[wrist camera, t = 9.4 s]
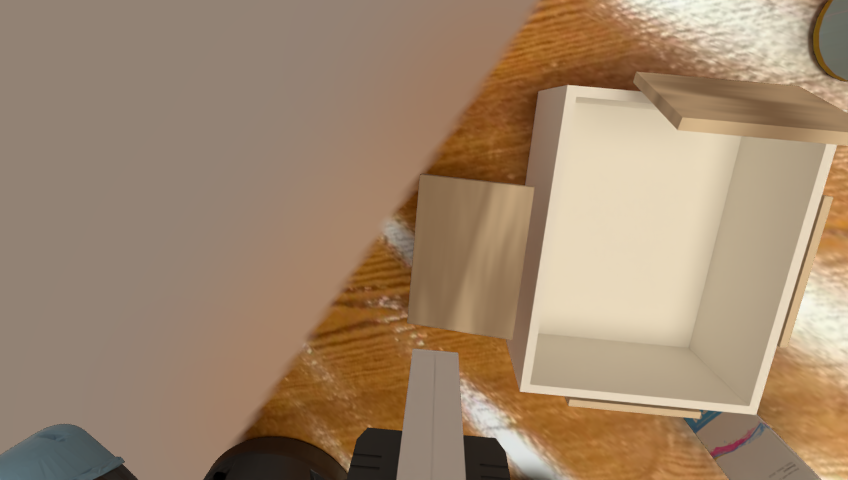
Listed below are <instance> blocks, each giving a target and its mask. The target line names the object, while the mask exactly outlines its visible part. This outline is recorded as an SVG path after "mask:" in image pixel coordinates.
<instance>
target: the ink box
mask: <svg viewBox="0 0 848 480" xmlns="http://www.w3.org/2000/svg"><path fill="white" fill-rule="evenodd" d="M699 410H700V411H701V416H700V419H696V418H686V417H683V418H684V419H685V421H686V422H687V423H688V425H689V426H690V427H691V429H692V430H693V431H694V433H695V434H696V435H697V437H698V438H699V439H700V441H701V442H702V443H703V445H704V446H705V448H706V449H707V450H708V452H709V453H710V454H711V456H712V457H713V458H714V460H715V461H716V462H717V464H718V465H719V467H720V468H721V469H722V471H723V472H724V473H725V475H726V476H727V477H728V479H729V480H821V479H820V478H819V476H818V475H817V474H816V473H815V472H814V471H813V470H812V469H811V468H810V467H809V466H808V465H807V464H806V463H805V462H804V461H803V460H802V459H801V458H800V457H799V456H798V455H797V454H796V453H795V452H794V451H793V450H792V449H791V448H790V447H789V446H788V445H787V444H786V443H785V442H784V441H783V440H782V439H781V438H780V437H779V436H778V435H777V434H776V433H775V432H774V431H773V430H772V429H771V428H770V427H769V426H768V425H767V424H766V423H765V422H764V421H763V420H762V419H761V418H760V417H759V416H758V415H757V414H756V415H752V414H742V413H732V412H722V411H712V410H701V409H699Z"/></svg>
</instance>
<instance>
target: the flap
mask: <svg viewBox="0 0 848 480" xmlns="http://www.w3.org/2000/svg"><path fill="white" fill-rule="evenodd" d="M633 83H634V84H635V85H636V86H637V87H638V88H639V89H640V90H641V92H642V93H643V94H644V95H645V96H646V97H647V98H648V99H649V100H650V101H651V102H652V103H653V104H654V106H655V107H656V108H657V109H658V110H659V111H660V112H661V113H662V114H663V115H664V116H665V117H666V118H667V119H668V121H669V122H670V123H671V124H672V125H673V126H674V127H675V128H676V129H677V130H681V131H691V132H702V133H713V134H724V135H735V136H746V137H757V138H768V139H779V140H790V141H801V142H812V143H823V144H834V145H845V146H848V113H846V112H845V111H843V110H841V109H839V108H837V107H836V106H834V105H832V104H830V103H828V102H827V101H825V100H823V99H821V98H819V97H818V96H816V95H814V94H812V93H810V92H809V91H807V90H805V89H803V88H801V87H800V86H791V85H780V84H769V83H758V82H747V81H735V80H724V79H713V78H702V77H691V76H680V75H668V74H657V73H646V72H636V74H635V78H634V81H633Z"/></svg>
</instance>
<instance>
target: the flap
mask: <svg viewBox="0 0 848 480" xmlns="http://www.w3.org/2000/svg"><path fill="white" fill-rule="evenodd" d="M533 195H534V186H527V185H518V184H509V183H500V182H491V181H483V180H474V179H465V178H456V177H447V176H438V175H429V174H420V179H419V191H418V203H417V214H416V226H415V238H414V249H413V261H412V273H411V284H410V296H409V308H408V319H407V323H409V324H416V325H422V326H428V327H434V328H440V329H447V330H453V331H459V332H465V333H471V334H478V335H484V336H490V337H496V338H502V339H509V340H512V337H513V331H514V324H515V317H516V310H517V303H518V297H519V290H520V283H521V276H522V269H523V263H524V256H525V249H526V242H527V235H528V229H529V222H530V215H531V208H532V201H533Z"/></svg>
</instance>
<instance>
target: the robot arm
mask: <svg viewBox="0 0 848 480" xmlns="http://www.w3.org/2000/svg"><path fill="white" fill-rule="evenodd" d="M124 462H125V461H124V460H123V459H122V458H121V457H115V456H114V455H113V454H111V453H110V452H109V451H108V450H107V449H106V448H104V447H103V446H102V445H101V444H100V443H99V442H98V441H96V440H95V439H94V438H93V437H92V436H91V435H89V434H88V433H87V432H86V431H85V430H83V429H82V428H80V427H77V426H75V425H70V424H59V425H54V426H50V427H47V428H45V429H43V430H41V431H39V432H37V433H35V434H33V435H32V436H30V437H29V438H27V439H25V440H24V441H22V442H21V443H19V444H17V445H15V446H14V447H12V448H11V449H9V450H7V451H6V452H4V453H3V454H1V455H0V480H138V479H137V478H136V477H135V476H134V475H133V474H132V473H131V472H130V471H129V470H128V469H127V468H126V467H125V466H124V465H123V464H122V463H124ZM204 480H510V474H509V469H508V463H507V457H506V452H505V450H504V449H503V448H502V446H501V445H500V444H499V442H498V441H497V440H496V438H488V437H477V436H466V435H463V425H462V409H461V393H460V377H459V361H458V353H455V352H444V351H433V350H422V349H413V352H412V360H411V368H410V376H409V384H408V392H407V400H406V408H405V416H404V423H403V431H398V430H387V429H377V428H367V429H366V430H365V431H364V432H363V433H362V434H361V435H360V437H359V438H358V439H357V441H356V445H355V449H354V453H353V457H352V460H351V464H350V468H349V472H348V475H347V473H346V472H345V471H344V470H343V468H342V467H341V466H340V465H339V464H338V463H337V462H336V461H335V460H334V459H332V458H331V457H330V456H329V455H327V454H326V453H324V452H323V451H321V450H319V449H318V448H316V447H314V446H312V445H309V444H307V443H304V442H301V441H297V440H293V439H288V438H281V437H264V438H257V439H252V440H249V441H245V442H243V443H240V444H238V445H236V446H234V447H232V448H231V449H229V450H227V451H226V452H225V453H224V454H222V455H221V456H220V457H219V458H218V459H217V460H216V462H215V463H214V464H213V466H212V467H211V469H210V470H209V472H208V473H207V475H206V476H205V478H204Z"/></svg>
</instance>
